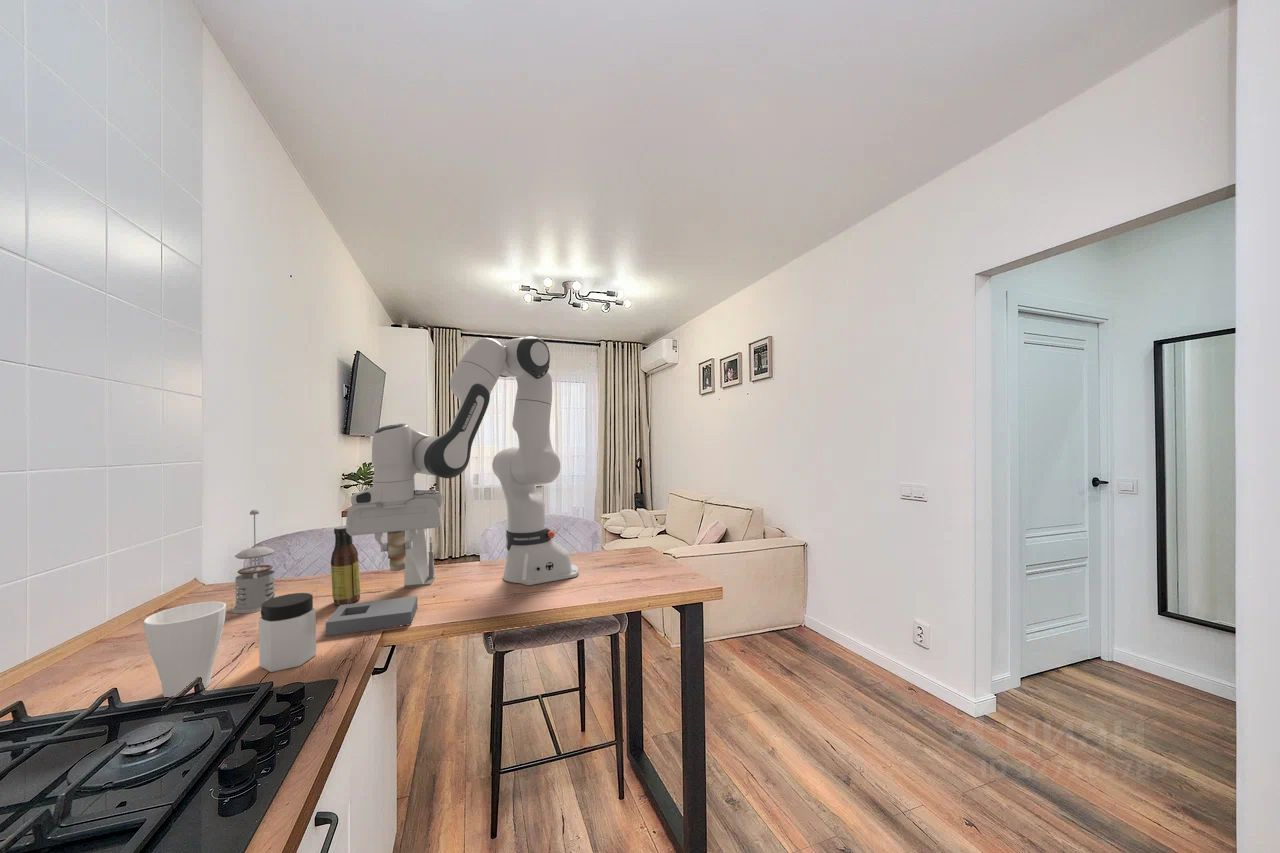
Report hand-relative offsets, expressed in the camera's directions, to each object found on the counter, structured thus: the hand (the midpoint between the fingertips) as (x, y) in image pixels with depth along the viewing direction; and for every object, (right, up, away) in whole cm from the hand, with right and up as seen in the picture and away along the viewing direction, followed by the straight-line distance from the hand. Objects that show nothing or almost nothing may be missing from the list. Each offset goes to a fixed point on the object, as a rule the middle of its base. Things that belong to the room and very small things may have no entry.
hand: (396, 549), depth 114 cm
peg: (0, -5, 0) cm, 5 cm away
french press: (-42, -17, +10) cm, 46 cm away
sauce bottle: (-19, -17, +11) cm, 28 cm away
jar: (-11, -17, -21) cm, 29 cm away
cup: (-21, -17, -31) cm, 41 cm away
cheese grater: (-7, -17, +26) cm, 31 cm away
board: (-4, -16, -2) cm, 17 cm away
